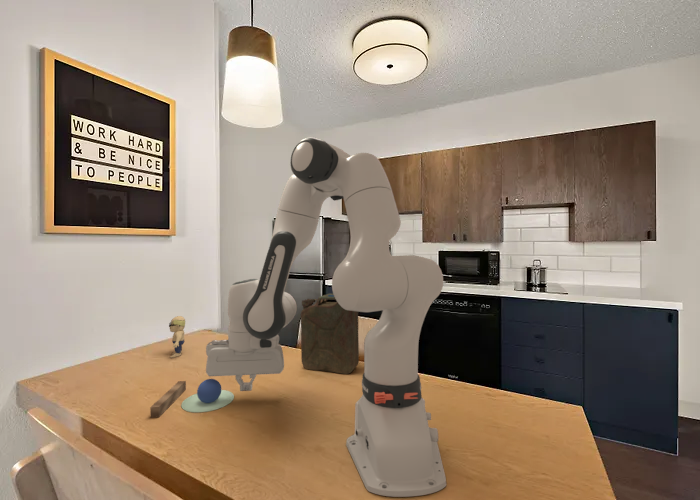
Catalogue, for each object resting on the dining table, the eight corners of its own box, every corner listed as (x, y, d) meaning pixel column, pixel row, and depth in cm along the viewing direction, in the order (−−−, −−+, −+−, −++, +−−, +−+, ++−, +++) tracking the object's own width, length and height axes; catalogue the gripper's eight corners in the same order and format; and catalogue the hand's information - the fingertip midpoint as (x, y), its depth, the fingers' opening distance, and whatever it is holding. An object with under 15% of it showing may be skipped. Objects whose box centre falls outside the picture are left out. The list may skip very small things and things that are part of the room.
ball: (191, 394, 86) (202, 412, 88) (214, 382, 87) (225, 400, 89) (194, 381, 91) (205, 398, 93) (215, 370, 93) (225, 387, 94)
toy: (172, 351, 135) (172, 313, 135) (188, 349, 137) (187, 312, 137) (165, 361, 123) (165, 320, 123) (182, 359, 125) (182, 319, 125)
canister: (360, 367, 115) (359, 293, 115) (352, 376, 107) (351, 297, 107) (310, 361, 122) (309, 291, 121) (299, 369, 114) (298, 295, 113)
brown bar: (159, 417, 82) (158, 406, 82) (150, 417, 82) (150, 407, 82) (185, 389, 98) (185, 380, 98) (178, 389, 98) (178, 381, 98)
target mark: (226, 411, 85) (226, 410, 85) (172, 413, 84) (172, 412, 84) (239, 389, 98) (239, 388, 98) (192, 391, 97) (192, 390, 97)
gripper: (201, 343, 88) (202, 397, 88) (281, 341, 89) (282, 393, 89) (209, 337, 94) (210, 386, 94) (284, 335, 96) (285, 383, 96)
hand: (246, 390), depth 92 cm, fingers closed
